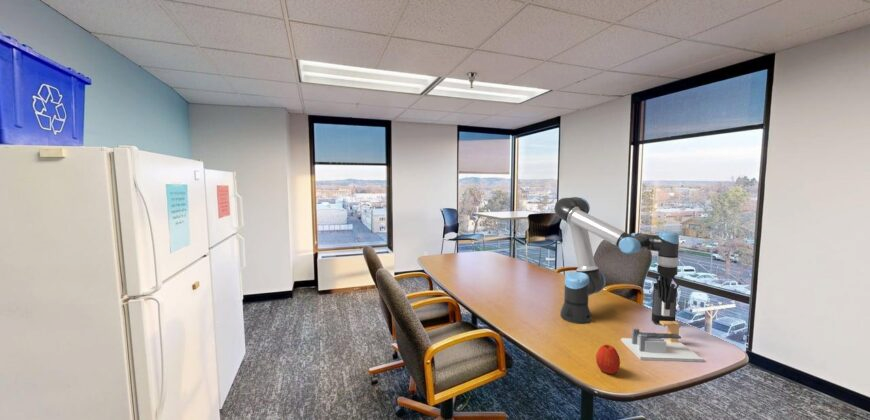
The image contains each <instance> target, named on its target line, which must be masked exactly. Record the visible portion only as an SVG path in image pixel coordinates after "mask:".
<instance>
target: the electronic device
mask: <svg viewBox="0 0 870 420" xmlns="http://www.w3.org/2000/svg"><path fill="white" fill-rule="evenodd" d="M652 287H653V289H652V290H653V291H652V303H651V306H652V308H651V321H652V323H653V324H655V325H658V326H663V325H662V324H660V321H675V322H676V314H677V313H676V312H677V301H678V299H677V298H678V296H677V295H678V291H677V292H676V296H675V300H674V303H670V316H663V315H661V313H662V300H661V298H659V296H658V286H657V282H654V283H653V286H652Z"/></svg>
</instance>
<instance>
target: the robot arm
mask: <svg viewBox="0 0 870 420" xmlns="http://www.w3.org/2000/svg"><path fill="white" fill-rule="evenodd" d="M590 209H591V207H590V203H589V202H588V201H587V200H586V199H585V198H583V197H580V196H572V197H562V198H560V199H558V200H557V202H556V203H555V205H554V209H553V210H554V213H555V214H556V217H558V218H560V219H561V220H563V221H565V222H566V223H567V224H568V225H569V228H570V233H571V237H572V241H573V246H574V252H575V253H574V254H575V257H576V263H577V266H578V267H577V268H576V269H575V270H576V271H575V272H574V271H573V272H569V273H567V274H566V275H565V277H564V278H565V279H564V294H563V295H564V297H563V298H564V299H563V304H562V306H561V309H560V315H559V316H560V318H562V320H564V321H567V322H569V323H573V324H579V325H580V324H589V323H591V321H592V313H591V311H590V307H589V296H591V295H593V294H597V293H599V292H601V291H602V290H603V289H604V288H605V286H606V277H605V275H604V274H603V273H602V272H601V271H600V268H599V267H598V266H597V265H596V263H595V259H594V253H593V248H592V244H591V239H590V235H589V233H591V234H593V235H595V236H597V237H599V238H601V239H602V240H605V241H607V242H609V243H611V244H612V245H614V246H616V247H618V248H619V250H620V251H621V252H622V253H623V254H626V255H633V254H637V253H639V252H642V251H652V252H657V269H656V271H657V273H658V274H659V276H655V280H656V283H657V286H658V296H659V298H661V300H662V313H661V315H663V316H670V303H674V300H675V296H676V292H677V293H678V288H679V287H680V284H678V283H676V278H675V277H676V276H678V271H679V268H678V264H679V263H678V262H679V249H680V248H679V246H680V240H679V239H680V236H679V234H678V232H675V231H665V230H664V231H663V230H662V231H661V230H660V231H659V233H658V234H657V235H656V234H649V233H648V234H647V233H641V232H638V233H637V232H632V233H627V232H626V231H624V230H622V229H620V228H618V227H616V226H614V225H611V224H610V223H608V222H607V221H606V222H605V221H604V220H601V219H599V218H597V217H595V216H593V215H591V214H589V212H590Z"/></svg>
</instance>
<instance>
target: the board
mask: <svg viewBox="0 0 870 420" xmlns="http://www.w3.org/2000/svg"><path fill="white" fill-rule="evenodd" d="M631 330H632V335H631V337H630V338H629V337H627V338H626V337H622V338H621V339H620V341H621V342H622V343H623V344H624V345H625V346H626V348H628V349H629V350H630V351H631V352H632V353H633V354H634V355H635V356H636V357H637V358H638V359H639V360H640V361H641V360H642V361H663V362H665V361H666V362H689V363H690V362H691V363H693V362H694V363H703V362H704V358H702V357H701V356H700V355H698V353H696V352H694V351H693V350H691V349H690V348H689V347H687V346H686V345H685V344H683V343H682V342H680V341H679V340H678V342H670V341H669V340H668V339H667V338H647V335H640V337H639V336H638V335H637V334H636V333H635V332H638V333H656V332H654V331H653V332H652V331H640V328H637V327H636V328H632V329H631Z"/></svg>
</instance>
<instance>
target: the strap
mask: <svg viewBox="0 0 870 420" xmlns="http://www.w3.org/2000/svg"><path fill="white" fill-rule="evenodd" d="M635 333H636V334H637V335H638V336H639V337H640V335H647V338H661V339H667V338H672V339H678V340H679V339H682V336H681V335H678V334H667V332H666V333H665V332H663V333H660V332H657V333H656V332H655V333H638V332H635Z"/></svg>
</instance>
